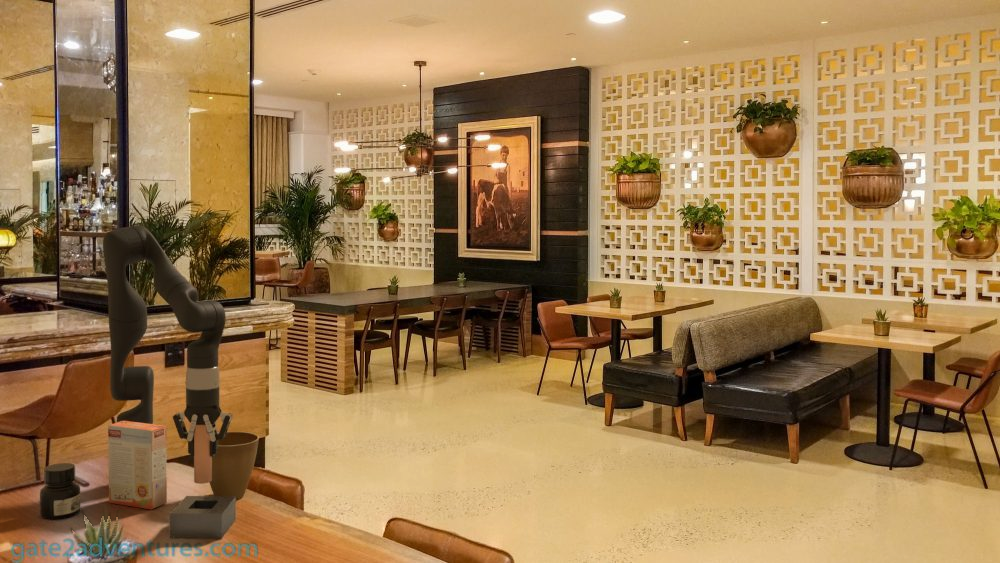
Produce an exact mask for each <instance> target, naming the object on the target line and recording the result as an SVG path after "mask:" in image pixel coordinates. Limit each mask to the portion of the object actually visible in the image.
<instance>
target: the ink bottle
mask: <svg viewBox="0 0 1000 563" xmlns="http://www.w3.org/2000/svg"><path fill="white" fill-rule="evenodd" d="M43 473H44V474H43V478H44V479H43V480H44V486H43V487H42V488H41V489H40V490H39V513H40V514H39V515H40V517H41V518H42V519H45V520H63V519H68V518H71V517H73V516H75V515H77V514H78V513H80V511H81V486H80V485H79V483H77V482H75V480H76V465H75V464H74V463H71V462H70V463H69V462H62V463H61V462H60V463H54V464H50V465H47V466H45V467H44V469H43Z"/></svg>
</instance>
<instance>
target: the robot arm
mask: <svg viewBox="0 0 1000 563" xmlns="http://www.w3.org/2000/svg"><path fill="white" fill-rule="evenodd" d="M102 253H103V254H102V255H103V258H104V259H103V260H104V267H105V272H106V273H105V274H106V279H107V280H106V281H107V283H106V284H107V295H108V297H107V298H108V328H109V340H110V371H109V372H110V374H109V376H110V378H109V380H110V381H109V385H110V388H109V389H110V395H111V397H112V399H113V400H115V401H119V402H120V401H121V402H124V401H125V402H126V401H140V402H139V403H138V404H137V405H135V406H134V407H131V408H130V409H128V410H124V411H122V412H121V413H118V414H117V416H116V423H117V422H120V421H131V422H139V423H147V424H154V410H153V409H154V407H153V406H154V405H153V404H154V387H155V385H154V384H155V383H154V382H155V381H154V380H155V378H154V376H155V375H154V370H153V369H152V367H151V366H150V365H139V366H138V365H137V366H134V365H133V366H125V363H126V361H127V359H128V357H129V355H130V354H131V352H132V351H133V350H134V349H135V347H136V346H137V345H138V344H139V342H140V341H141V340H142V339H143V338H144V335H145V334H146V332H147V329H148V309H147V308H148V307H147V304H146V302H145V300H144V299H143V297H142V296H141V295H140V294H139V292H138V291H136V289H135V288H134V287H133V286H132V285H131V284H130V282H129V280H128V277H127V273H126V271H127V266H128V265H133V264H137V263H140V262H144V261H146V262H149V263H150V264H151V265H152V267H153V276H152V278H153V285H154V288H155V291H156V292H157V294H158V295H159V297H161V298H162V299H163V300H164V301H165V302H166V303H167V304H168V305H169V306H170V307H171V310H172V312H173V314H174V315H175V317H176V320H177V322H178V324H179V326H180V327H181V328H182V329H183V330H185V331H186V332H189V333H200V335H199V336H200V337H199V338H197V339H196V340H194V341H192V342H190V343H188V345H187V348H186V373H185V383H184V384H185V409H184V411H181V412H177V413H175V414H174V415H173V416H172V419H173V422H174V425H175V427H176V431H177V434H178V436H179V438H180V440H181V439H183V440H186V441H187V453H188V455H190V457H194V430H195V425H206V428H207V432H208V433H209V436H210V439H211V441H210V457H213V456H215V454H216V453H217V452H218V440H219V439H222V438H223V437H225V436H226V433H227V432H228V431H229V430H228V429H229V427H230V424H231V421H232V419H233V414H232V413H226V412H223V411H222V409H221V407H220V370H219V348H220V345H221V341H222V337H223V335H224V334H223V333H224V329H225V326H226V321H227V317H226V316H227V314H226V311H225V308H224V307H223V305H222V303H220V302H219V301H215V300H207V301H199V300H198V299H199V292H198V290H197V289H196V288H195V286H194V285H193V284H192V283H191V282H189V280H188V279H187V278H185V277H184V276H183V275H182V273H181V272H180V271H178V268H177V267H175V265H174V264H173V262H172V261H171V260H170V258H169V256H168V255H167V254H166V252H165V250H164V249H163V248H162V246H161V245H160V244H159V242H158V240H157V239H156V238H155V236H154V235H153V234H152V233H151V232H150V230H148V228H147V227H145V226H143V225H141V224H139V225H138V224H137V225H131V226H126V227H121V228H117V229H113V230H109V231H107V232H105V234H104V235H103V239H102ZM185 418H186V419H187V420H188V422H189V423H190V425H189V427H188V430H187V427H186V424H185ZM219 418H220V422H221V423H222V424H221V427H220V430H219V432H218V427H217V423H216V421H218V419H219ZM209 427H210V428H209Z"/></svg>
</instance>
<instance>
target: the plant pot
mask: <svg viewBox="0 0 1000 563" xmlns="http://www.w3.org/2000/svg"><path fill="white" fill-rule="evenodd" d="M259 438H260V436H259V435H258V434H255V433H252V432H247V431H227V433H226V436H225V437H223V438H222V439H219V440H218V452H217V453H216V454H215V456H213V457H212V481H211V482H209V486H210V488H211V491H212V493H213V496H236V500H240V499H241V498H243V497H244V495H245V493H246V491H247V488H248V485H249V484H250V480H251V477H252V473H253V470H254V466H255V462H256V458H257V451H258V446H259Z"/></svg>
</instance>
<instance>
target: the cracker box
mask: <svg viewBox="0 0 1000 563" xmlns="http://www.w3.org/2000/svg"><path fill="white" fill-rule="evenodd" d="M107 427H108V428H107V430H108V431H107V432H108V433H107V434H108V435H107V439H108V440H107V442H108V444H107V445H108V446H107V448H108V449H107V450H108V452H107V453H108V503H110V504H114V505H121V506H122V505H123V506H128V507H134V508H140V509H146V510H154V509H156V508H158V507H160V506H163V505H165V504H167V499H168V498H167V496H168V494H167V488H168V486H167V479H168V478H167V474H168V473H167V426H166V425H162V424H154V423H153V424H147V423H139V422H131V421H120V422H117V421H116V422H114V423H112V424H108V426H107Z"/></svg>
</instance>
